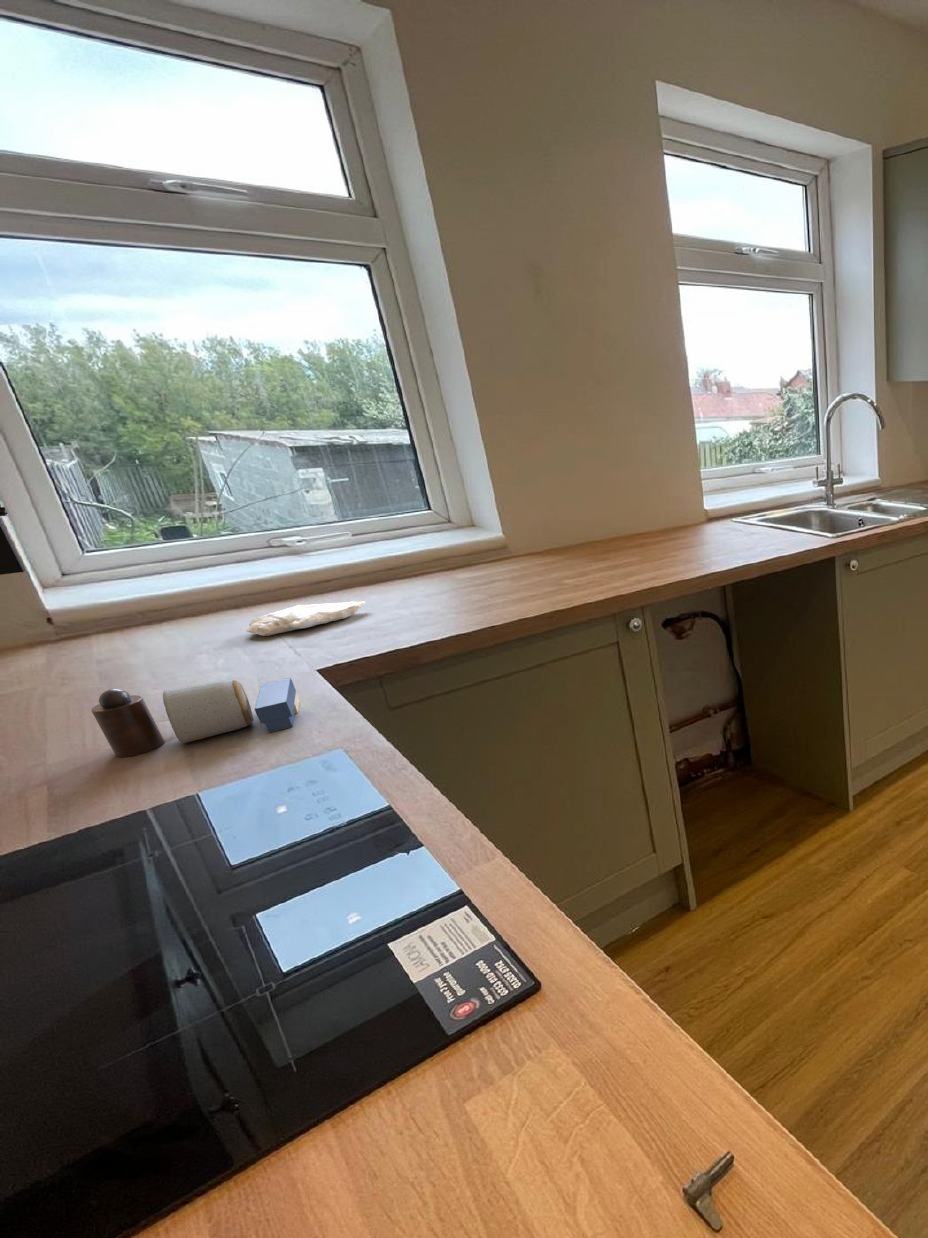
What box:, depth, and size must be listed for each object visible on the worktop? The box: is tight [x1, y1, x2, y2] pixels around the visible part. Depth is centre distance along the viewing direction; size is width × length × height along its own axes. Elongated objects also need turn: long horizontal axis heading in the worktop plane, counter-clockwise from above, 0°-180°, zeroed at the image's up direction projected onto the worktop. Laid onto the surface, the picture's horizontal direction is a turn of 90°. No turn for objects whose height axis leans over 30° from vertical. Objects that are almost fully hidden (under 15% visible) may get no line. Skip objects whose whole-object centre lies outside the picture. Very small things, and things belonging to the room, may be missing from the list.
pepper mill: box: [90, 688, 165, 758], centre depth 98 cm, size 5×5×9 cm
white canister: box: [162, 679, 254, 744], centre depth 103 cm, size 11×8×8 cm
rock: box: [246, 600, 366, 637], centre depth 146 cm, size 4×13×20 cm
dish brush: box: [254, 677, 301, 734], centre depth 106 cm, size 11×4×4 cm, turn 35°
